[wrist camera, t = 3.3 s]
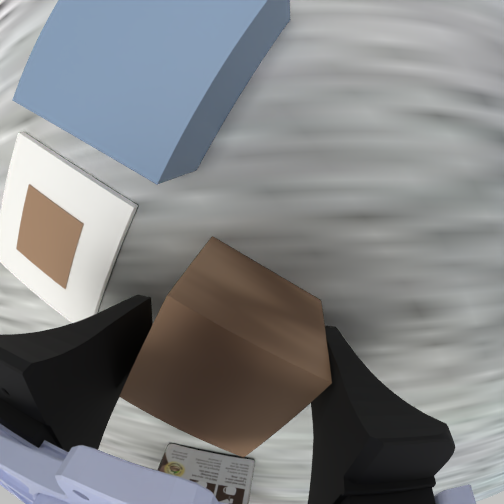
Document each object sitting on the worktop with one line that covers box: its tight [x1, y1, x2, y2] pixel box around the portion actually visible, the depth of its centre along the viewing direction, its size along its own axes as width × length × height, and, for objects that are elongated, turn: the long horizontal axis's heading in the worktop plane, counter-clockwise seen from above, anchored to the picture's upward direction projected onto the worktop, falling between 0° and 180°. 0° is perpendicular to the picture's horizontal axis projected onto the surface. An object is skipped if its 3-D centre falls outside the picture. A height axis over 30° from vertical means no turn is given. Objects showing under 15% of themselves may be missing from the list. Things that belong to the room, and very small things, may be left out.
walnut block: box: [119, 236, 332, 457], centre depth 11 cm, size 5×5×5 cm
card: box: [0, 132, 138, 323], centre depth 13 cm, size 8×8×1 cm
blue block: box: [13, 0, 290, 184], centre depth 8 cm, size 7×7×4 cm
